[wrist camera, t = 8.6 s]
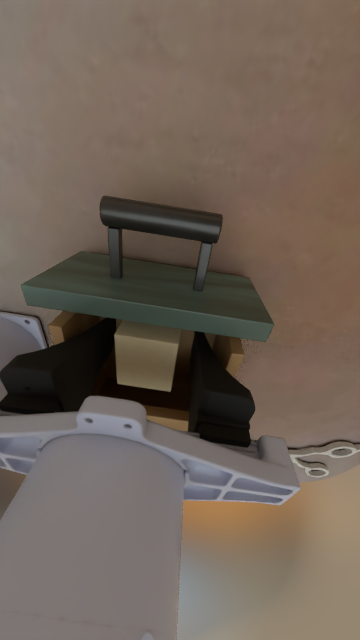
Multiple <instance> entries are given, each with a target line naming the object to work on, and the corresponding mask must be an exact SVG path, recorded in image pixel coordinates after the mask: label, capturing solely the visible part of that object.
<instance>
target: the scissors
mask: <svg viewBox="0 0 360 640" xmlns="http://www.w3.org/2000/svg"><path fill="white" fill-rule="evenodd" d="M343 448H345V449H346V450H343V451H334V450H336V449H343ZM288 452H289V455H290V457H291V460H292V462H293V463H296V464H297V465H298V467H302V468H304V470H305V473H306V474H307V475H309V476H312V477H323V476H327V475H328V474H329V471H328V469H327V467H326V466H325V465H323V464H320V463H312V464H308V463H305V462H301V461H300V460H299V459H297V457H302V456H307V455H313V454H325V455H329V456H331V457H332V458H341V457H347V456H351V455H353V454H355V453H356V452H360V444H358V445H353V444H352V443H349V442H335V443H331V444H328V445H326V446H324V447H320V448H313V447H311V448H309V449H305V450H288ZM310 470H321V471H310Z"/></svg>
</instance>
